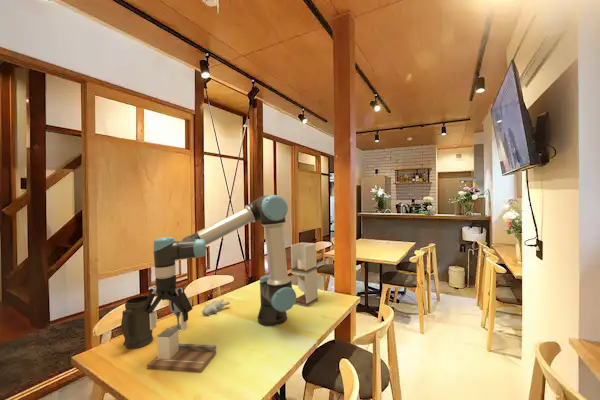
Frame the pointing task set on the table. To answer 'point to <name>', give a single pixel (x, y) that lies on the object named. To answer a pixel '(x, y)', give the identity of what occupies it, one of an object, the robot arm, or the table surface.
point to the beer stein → (136, 323)
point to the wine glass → (177, 312)
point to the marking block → (167, 343)
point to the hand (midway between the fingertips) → (168, 328)
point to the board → (186, 358)
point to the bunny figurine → (214, 307)
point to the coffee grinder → (305, 272)
